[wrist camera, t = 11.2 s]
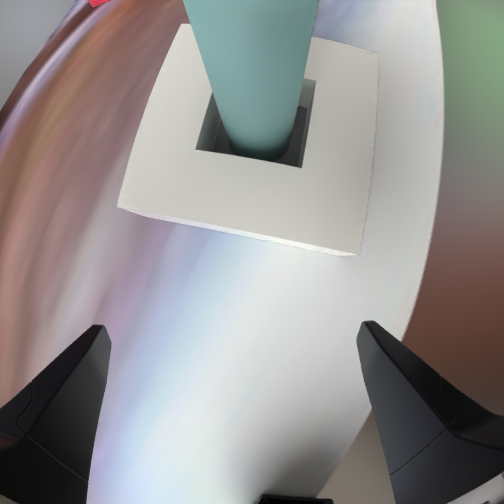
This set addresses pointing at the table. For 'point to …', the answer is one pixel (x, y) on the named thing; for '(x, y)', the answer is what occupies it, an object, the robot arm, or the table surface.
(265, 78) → the pin
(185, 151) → the socket block
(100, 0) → the ink box
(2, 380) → the table surface
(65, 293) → the table surface
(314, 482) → the table surface
